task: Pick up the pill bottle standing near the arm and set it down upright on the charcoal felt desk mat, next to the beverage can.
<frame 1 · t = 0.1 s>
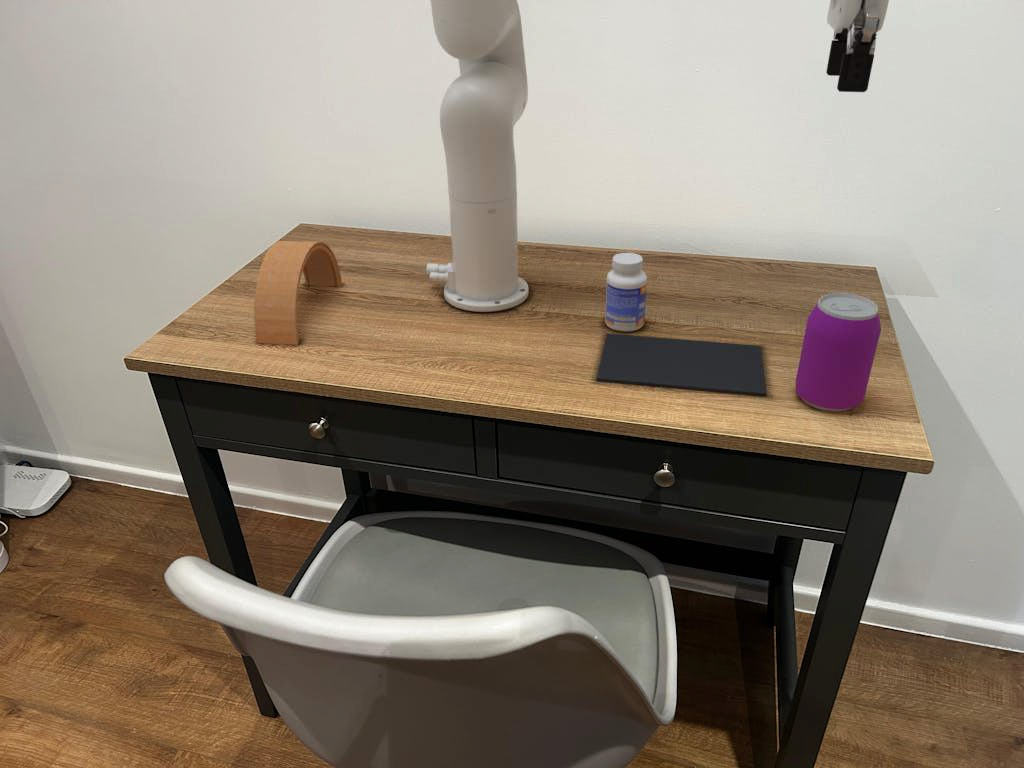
hand: (845, 82, 96), 31 cm above the table, tool pointing down, fingers open, 9 cm apart
beverage can: (827, 398, 94), on the table
pill bottle: (624, 325, 111), on the table
desk mat: (681, 364, 101), on the table
arch: (302, 312, 116), on the table
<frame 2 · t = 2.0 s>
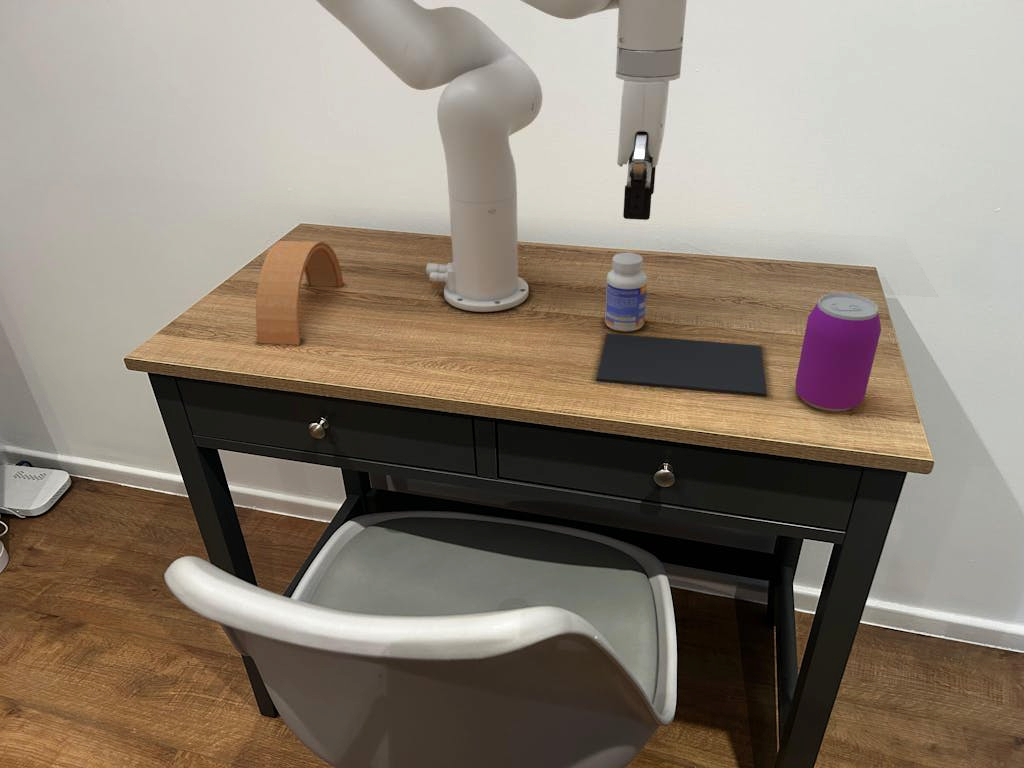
hand: (638, 205, 103), 17 cm above the table, tool pointing down, fingers open, 9 cm apart
nothing on the table moved.
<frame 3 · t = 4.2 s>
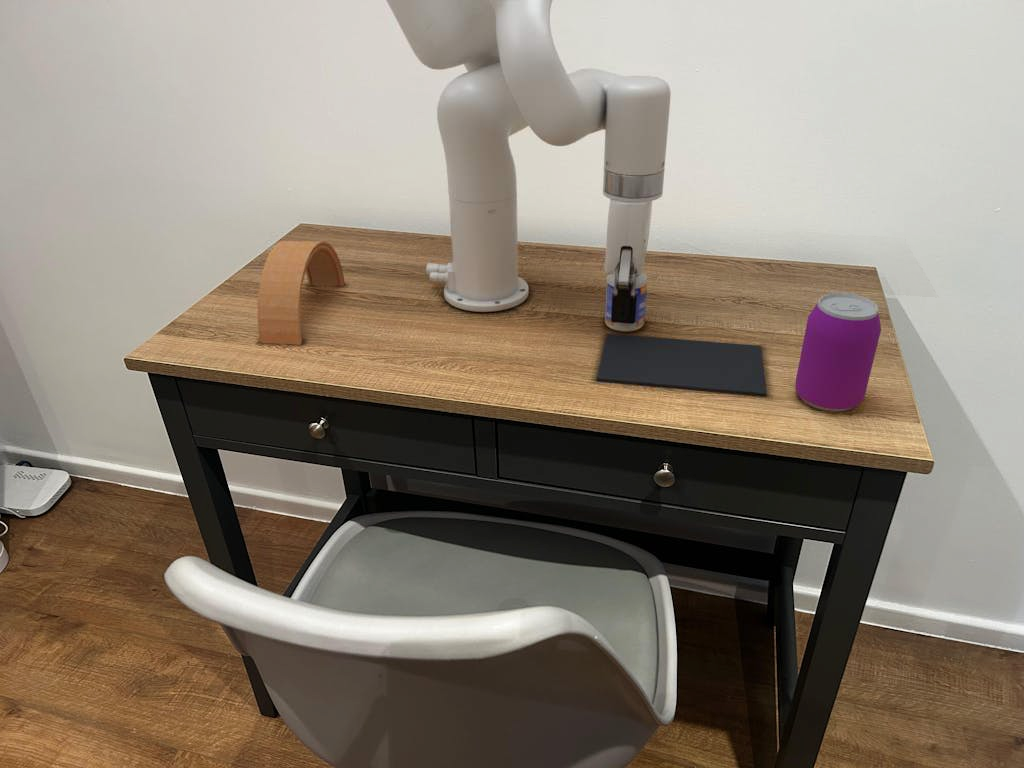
hand: (625, 310, 110), 2 cm above the table, tool pointing down, fingers closed on pill bottle, 5 cm apart
pill bottle: (624, 325, 111), on the table, touching gripper
everything else where it was.
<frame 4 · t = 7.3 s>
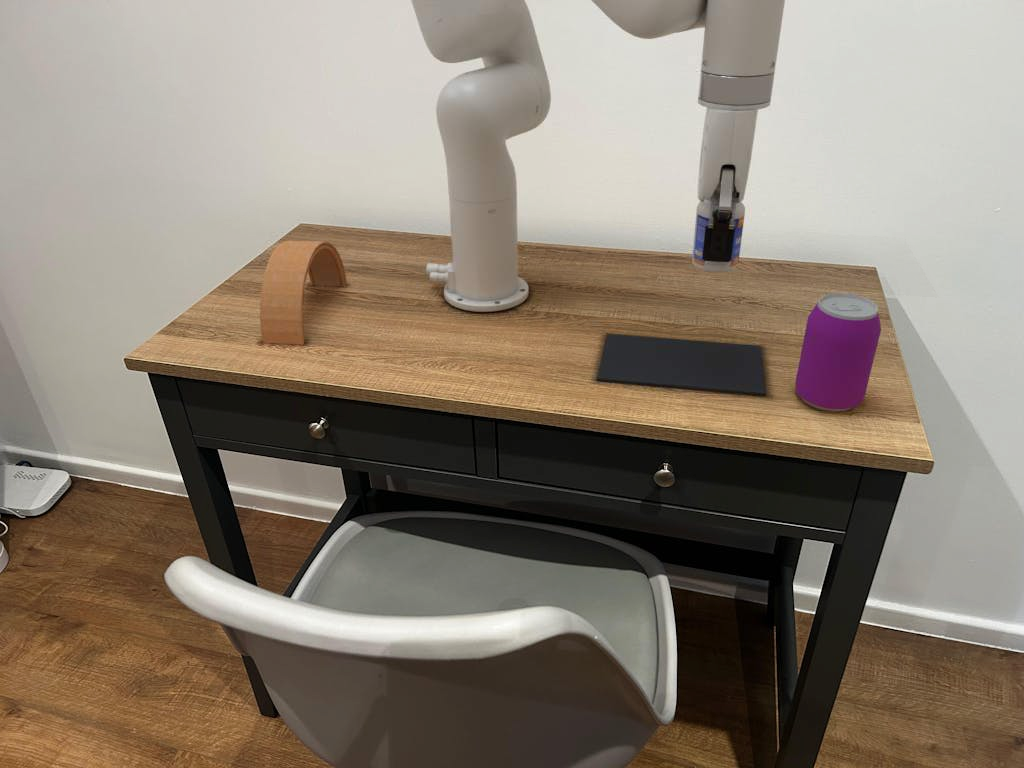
hand: (716, 248, 94), 15 cm above the table, tool pointing down, fingers closed on pill bottle, 5 cm apart
pill bottle: (714, 266, 95), point 13 cm above the table, touching gripper
everything else where it was.
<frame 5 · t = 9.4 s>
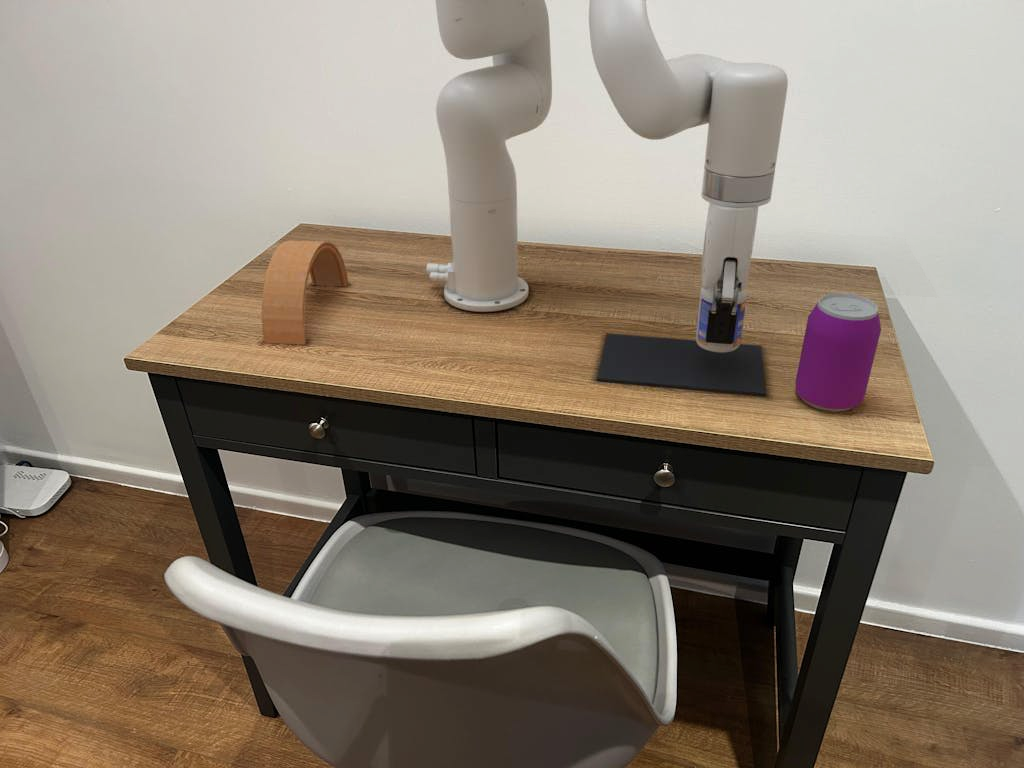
hand: (719, 329, 98), 5 cm above the table, tool pointing down, fingers closed on pill bottle, 5 cm apart
pill bottle: (717, 344, 99), point 3 cm above the table, touching gripper
everything else where it was.
when the fingers open (2 cm above the table, at t = 10.7 s): pill bottle stays where it is, resting on desk mat.
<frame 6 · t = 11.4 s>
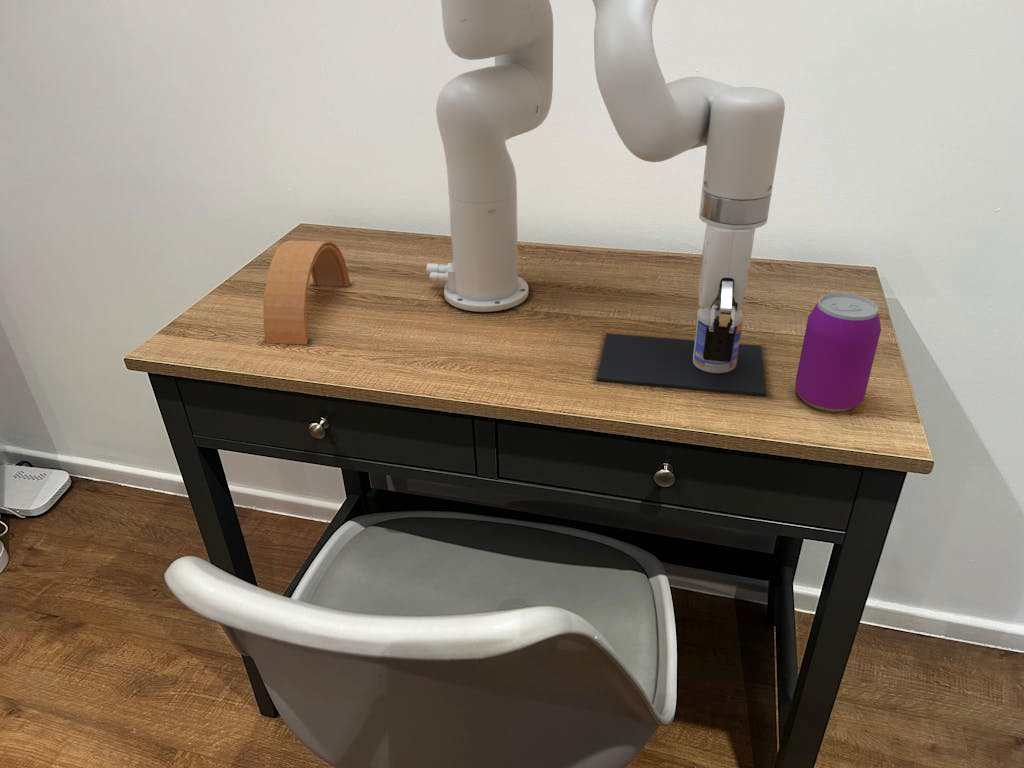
hand: (716, 340, 99), 4 cm above the table, tool pointing down, fingers open, 9 cm apart
pill bottle: (713, 365, 101), resting on desk mat
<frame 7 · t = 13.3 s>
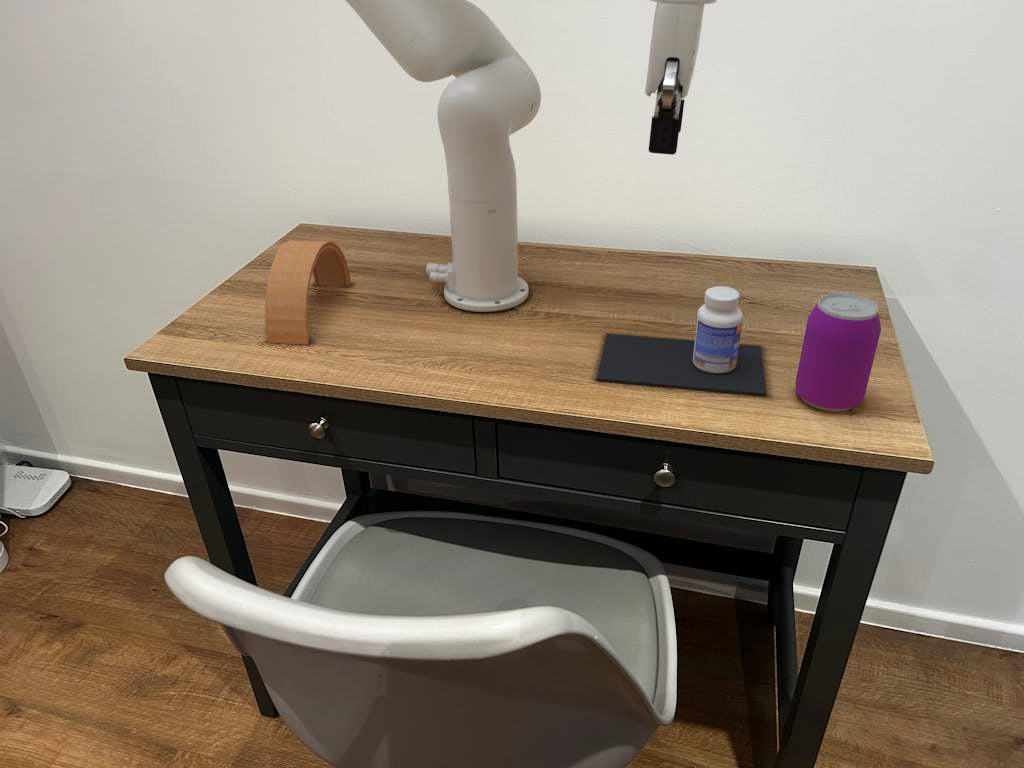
hand: (665, 142, 98), 25 cm above the table, tool pointing down, fingers open, 9 cm apart
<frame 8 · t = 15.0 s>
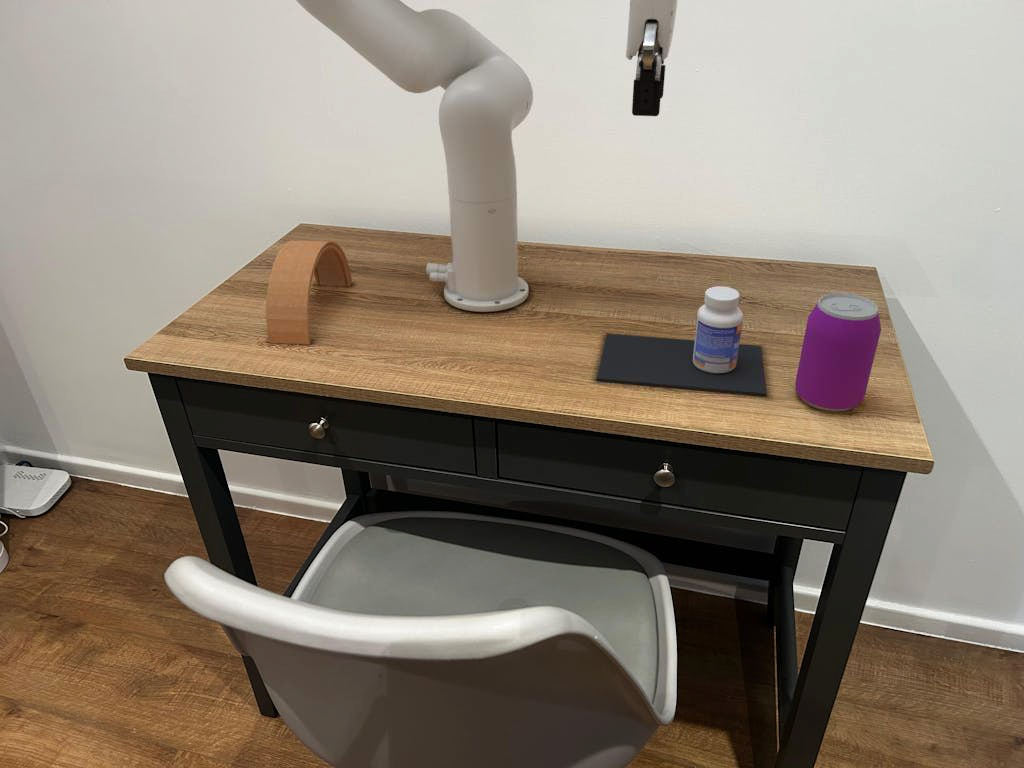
hand: (647, 106, 100), 28 cm above the table, tool pointing down, fingers open, 9 cm apart
at the end: pill bottle inside the target area on the desk mat (4.0 cm from its centre), point 0.2 cm above the desk mat's base; pill bottle tilted 0°; pill bottle 13.9 cm from the beverage can (horizontally) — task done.
